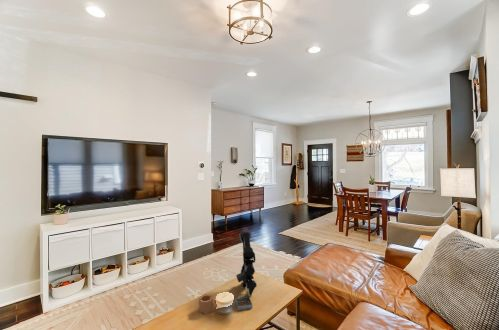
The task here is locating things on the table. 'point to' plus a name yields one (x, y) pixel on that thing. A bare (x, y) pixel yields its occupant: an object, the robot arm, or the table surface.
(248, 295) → the brass spacer
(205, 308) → the bracket
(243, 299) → the bearing block
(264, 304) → the table surface
